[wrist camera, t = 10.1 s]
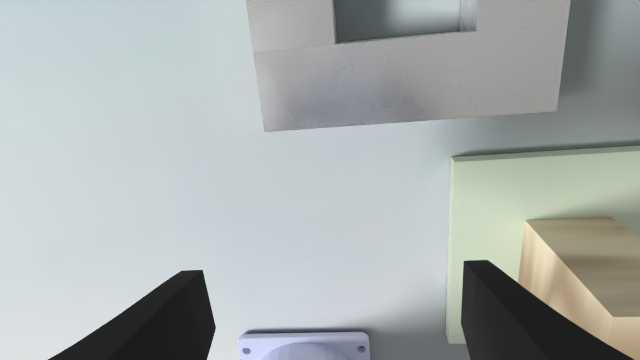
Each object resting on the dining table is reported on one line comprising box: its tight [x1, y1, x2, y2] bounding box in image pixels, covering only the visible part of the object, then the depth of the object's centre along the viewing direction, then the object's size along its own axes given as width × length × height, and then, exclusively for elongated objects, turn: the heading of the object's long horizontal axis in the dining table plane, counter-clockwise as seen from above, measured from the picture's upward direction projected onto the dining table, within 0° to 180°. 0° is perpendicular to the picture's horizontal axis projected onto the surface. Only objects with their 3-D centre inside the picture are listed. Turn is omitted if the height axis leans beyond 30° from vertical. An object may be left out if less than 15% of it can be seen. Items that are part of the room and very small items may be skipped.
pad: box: [445, 145, 640, 344], centre depth 20 cm, size 11×11×1 cm
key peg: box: [518, 217, 640, 360], centre depth 17 cm, size 4×4×7 cm
